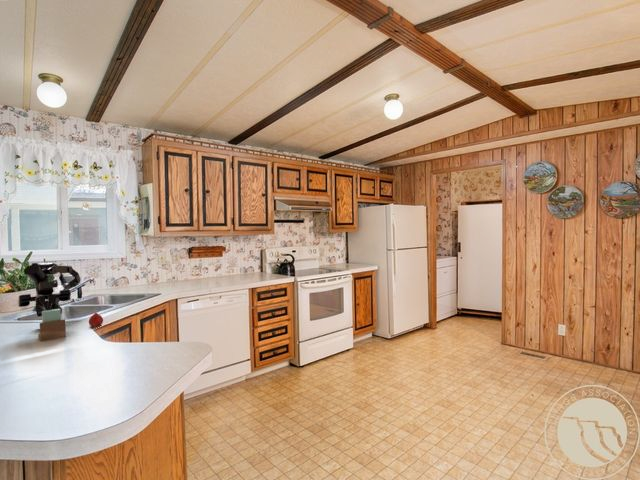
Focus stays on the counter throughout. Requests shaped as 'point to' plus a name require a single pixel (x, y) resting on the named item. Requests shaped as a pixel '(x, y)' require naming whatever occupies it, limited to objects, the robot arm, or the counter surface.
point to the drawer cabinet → (52, 330)
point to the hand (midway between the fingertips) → (48, 312)
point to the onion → (95, 320)
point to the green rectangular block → (51, 315)
